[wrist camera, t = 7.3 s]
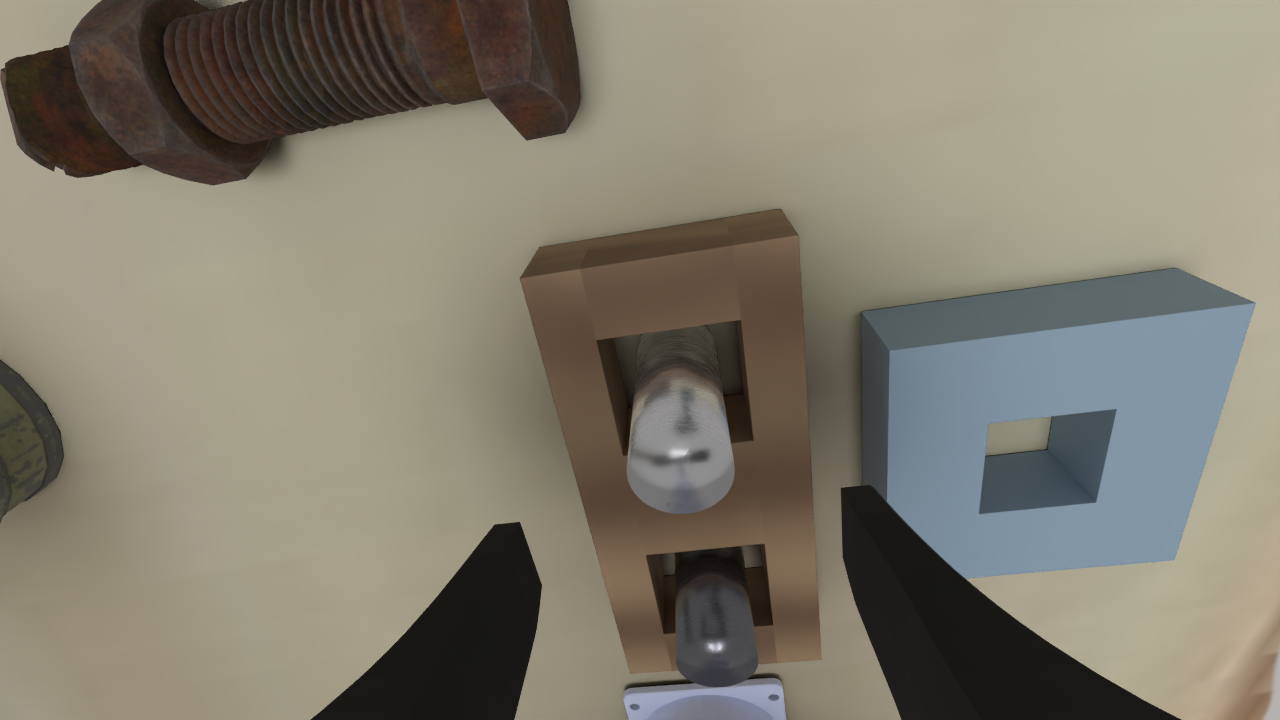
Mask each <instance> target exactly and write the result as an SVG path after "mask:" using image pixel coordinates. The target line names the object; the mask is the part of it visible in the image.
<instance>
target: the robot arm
mask: <svg viewBox="0 0 1280 720" xmlns="http://www.w3.org/2000/svg"><path fill="white" fill-rule="evenodd" d="M841 507H842V544H843V560H844V564H845V567H846V571H847V575H848V578H849V582H850V586H851V589H852V593H853V596H854V600H855V603H856V606H857V608H858V611H859V613H860V616H861V618H862V621H863V623H864V626H865V628H866V631H867V633H868V636H869V639H870V641H871V643H872V646H873V648H874V651H875V653H876V656H877V658H878V661H879V663H880V666H881V668H882V671H883V673H884V676H885V678H886V681H887V683H888V686H889V688H890V691H891V693H892V696H893V698H894V701H895V703H896V706H897V709H898V711H899V714H900V717H901V720H1181V719H1179V718H1177V717H1175V716H1173V715H1171V714H1169V713H1167V712H1165V711H1163V710H1161V709H1159V708H1157V707H1155V706H1153V705H1151V704H1150V703H1148V702H1146V701H1144V700H1142V699H1141V698H1139V697H1137V696H1135V695H1134V694H1132V693H1130V692H1128V691H1127V690H1125V689H1123V688H1121V687H1120V686H1118V685H1116V684H1114V683H1113V682H1111V681H1109V680H1107V679H1106V678H1104V677H1102V676H1101V675H1099V674H1097V673H1096V672H1094V671H1092V670H1091V669H1089V668H1088V667H1086V666H1085V665H1083V664H1081V663H1080V662H1078V661H1077V660H1075V659H1074V658H1072V657H1071V656H1069V655H1067V654H1066V653H1064V652H1063V651H1061V650H1060V649H1058V648H1056V647H1055V646H1053V645H1052V644H1050V643H1049V642H1047V641H1046V640H1044V639H1043V638H1041V637H1040V636H1039V635H1037V634H1036V633H1034V632H1033V631H1032V630H1030V629H1029V628H1027V627H1026V626H1024V625H1023V624H1022V623H1020V622H1019V621H1018V620H1016V619H1015V618H1014V617H1012V616H1011V615H1010V614H1008V613H1007V612H1006V611H1004V610H1003V609H1002V608H1000V607H999V606H998V605H997V604H995V603H994V602H993V601H992V600H990V599H989V598H988V597H987V596H985V595H984V594H983V593H982V592H980V591H979V590H978V589H977V588H976V587H974V586H973V585H972V584H971V583H970V582H969V581H967V580H966V579H965V578H964V577H963V576H962V575H961V574H959V573H958V572H957V571H956V570H955V569H954V568H953V567H951V566H950V565H949V564H948V563H947V562H946V561H945V560H944V559H943V558H942V557H941V556H940V555H939V554H937V553H936V552H935V551H934V550H933V549H932V548H931V547H930V546H929V545H928V544H927V543H926V542H925V541H924V540H923V539H922V538H921V537H920V536H919V535H918V534H917V533H916V532H915V531H914V530H913V529H912V528H911V527H910V526H909V525H908V524H907V523H906V522H905V521H904V520H903V519H902V518H901V517H900V516H899V515H898V513H897V512H896V511H895V510H894V509H893V508H892V507H891V506H890V505H889V504H888V503H887V501H886V500H885V499H884V498H883V497H882V496H881V495H880V494H879V492H878V491H877V490H876V489H875V488H874V487H872V486H871V485H864V486H855V487H845V488H841ZM541 589H542V584H541V582H540V579H539V576H538V573H537V570H536V567H535V564H534V561H533V558H532V556H531V553H530V550H529V547H528V544H527V541H526V538H525V535H524V532H523V530H522V527H521V524H520V522H515V523H506V524H496V525H494V526H493V527H492V529H491V530H490V531H489V532H488V533H487V535H486V536H485V537H484V538H483V540H482V541H481V542H480V544H479V545H478V546H477V547H476V549H475V550H474V551H473V552H472V554H471V555H470V556H469V558H468V559H467V560H466V561H465V563H464V564H463V565H462V566H461V568H460V569H459V570H458V572H457V573H456V574H455V575H454V577H453V578H452V579H451V580H450V581H449V583H448V584H447V585H446V586H445V588H444V589H443V590H442V591H441V592H440V594H439V595H438V596H437V597H436V599H435V600H434V601H433V602H432V603H431V604H430V606H429V607H428V608H427V609H426V610H425V611H424V612H423V613H422V615H421V616H420V617H419V618H418V619H417V620H416V621H415V622H414V624H413V625H412V626H411V627H410V628H409V629H408V630H407V632H406V633H405V634H404V635H403V636H402V637H401V638H400V639H399V640H398V641H397V642H396V643H395V644H394V645H393V646H392V647H391V648H390V649H389V650H388V651H387V652H386V653H385V654H384V655H383V656H382V657H381V658H380V659H379V660H378V661H377V662H376V663H375V664H374V665H373V666H372V667H371V668H370V669H369V670H368V671H367V672H365V673H364V674H363V675H362V676H361V677H360V678H359V679H358V680H357V681H355V682H354V683H353V684H352V685H351V686H350V687H349V688H347V689H346V690H345V691H344V692H343V693H342V694H340V695H339V696H338V697H337V698H336V699H335V700H334V701H332V702H331V703H330V704H329V705H328V706H327V707H325V708H324V709H323V710H322V711H321V712H320V713H318V714H317V715H316V716H315V717H313V718H312V719H311V720H514V718H515V715H516V711H517V707H518V703H519V699H520V695H521V691H522V687H523V683H524V679H525V675H526V671H527V667H528V663H529V659H530V655H531V651H532V646H533V642H534V638H535V634H536V630H537V622H538V615H539V607H540V598H541ZM623 701H624V705H625V708H626V711H627V715H628V718H629V720H786V712H785V703H784V693H783V686H782V682H781V681H780V680H779V679H776V678H762V679H748V680H745V681H743V682H741V683H738V684H736V685H732V686H728V687H707V686H702V685H699V684H696V683H692V684H678V685H664V686H650V687H637V688H629V689H627V690H625V692H624V696H623Z"/></svg>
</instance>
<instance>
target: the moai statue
mask: <svg viewBox="0 0 1280 720" xmlns="http://www.w3.org/2000/svg"><path fill="white" fill-rule="evenodd" d="M62 460H63V451H62V444H61V438H60V432H59V430H58V428H57V426H56V424H55V422H54V420H53V419H52V417H51V415H50V413H49V411H48V409H47V407H46V405H45V404H44V403H43V401H42V400H41V399H40V398H39V397H38V396H37V395H36V394H35V392H34V391H33V390H32V389H31V388H30V387H29V386H28V385H27V383H26V382H25V381H24V380H23V379H22V378H21V377H20V376H19V375H18V374H17V373H15V372H14V371H13V370H12V369H10V368H9V367H8V366H6V365H5V364H4V363H2V362H1V361H0V522H1V520H2V517H3V516H4V515H5V514H6V513H7V512H8V511H10V510H11V509H12V508H14V507H15V506H17V505H18V504H19V503H21V502H23V501H27V500H28V499H30V498H31V497H33V496H34V495H35V494H37V493H38V492H40V491H41V490H42V489H43V488H45V487H46V486H47V485H48V484H49V483H50V482H52V481H53V480H54V479H55V478H56V477H57V475H58V472H59V469H60V466H61V463H62Z"/></svg>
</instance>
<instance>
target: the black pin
mask: <svg viewBox="0 0 1280 720" xmlns="http://www.w3.org/2000/svg"><path fill="white" fill-rule="evenodd" d="M675 619H676V665H677V668H678V670H679V671H680V673H681V674H682V675H683V676H684V677H685V678H687V679H688V680H690V681H692V682H694V683H696V684H699V685H702V686H707V687H728V686H732V685H736V684H738V683H741V682H743V681H745V680H746V679H748V678H749V677H750V676H751V675H752V674H753V673H754V672H755V671H756V669H757V666H758V662H759V660H758V652H757V645H756V638H755V631H754V625H753V618H752V611H751V604H750V598H749V591H748V584H747V577H746V570H745V564H744V557H743V550H742V546H735V547H725V548H714V549H704V550H694V551H683V552H675Z"/></svg>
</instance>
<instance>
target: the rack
mask: <svg viewBox="0 0 1280 720" xmlns="http://www.w3.org/2000/svg"><path fill="white" fill-rule="evenodd" d="M520 281H521V284H522V288H523V291H524V295H525V299H526V302H527V306H528V309H529V313H530V316H531V320H532V324H533V327H534V331H535V334H536V338H537V341H538V345H539V349H540V352H541V356H542V359H543V363H544V367H545V370H546V374H547V377H548V381H549V384H550V388H551V392H552V395H553V399H554V402H555V406H556V409H557V413H558V417H559V420H560V424H561V427H562V431H563V435H564V438H565V442H566V445H567V449H568V452H569V456H570V460H571V463H572V467H573V470H574V474H575V477H576V481H577V485H578V488H579V492H580V495H581V499H582V503H583V506H584V510H585V513H586V517H587V520H588V524H589V528H590V531H591V535H592V538H593V542H594V545H595V549H596V553H597V556H598V560H599V563H600V567H601V571H602V574H603V578H604V581H605V585H606V588H607V592H608V596H609V599H610V603H611V606H612V610H613V613H614V617H615V621H616V624H617V628H618V631H619V635H620V639H621V642H622V646H623V649H624V653H625V656H626V660H627V664H628V667H629V671H630V674H634V673H647V672H661V671H674V670H678V668H677V665H676V619H675V575H674V576H664V573H663V568H662V564H661V559H660V555H659V554H663V553H673V552H683V551H694V550H704V549H714V548H725V547H735V546H745V545H755V544H760V546H761V555H762V564H763V567H760V568H749V569H745V570H746V577H747V584H748V591H749V598H750V604H751V611H752V618H753V625H754V631H755V638H756V645H757V652H758V660H759V662H758V664H768V663H782V662H795V661H809V660H822V658H821V640H820V621H819V603H818V585H817V566H816V548H815V529H814V511H813V493H812V474H811V456H810V437H809V419H808V401H807V382H806V364H805V345H804V327H803V309H802V290H801V272H800V253H799V235H798V234H797V232H796V231H795V229H794V228H793V226H792V225H791V223H790V222H789V221H788V219H787V218H786V216H785V215H784V213H783V212H782V210H781V209H776V210H770V211H764V212H758V213H751V214H745V215H739V216H733V217H726V218H720V219H714V220H708V221H701V222H695V223H689V224H683V225H676V226H670V227H664V228H658V229H651V230H645V231H639V232H633V233H627V234H620V235H614V236H608V237H602V238H595V239H589V240H583V241H577V242H570V243H564V244H558V245H552V246H545V247H539V249H538V250H537V252H536V254H535V255H534V257H533V258H532V260H531V261H530V263H529V265H528V266H527V268H526V269H525V271H524V273H523V274H522V276H521V277H520ZM730 321H736V329H737V338H738V347H739V356H740V365H741V374H742V383H743V392H744V394H739V395H731V396H724V403H725V409H726V416H727V422H728V428H729V435H730V441H731V447H732V454H733V460H734V467H735V475H734V480H733V483H732V486H731V488H730V489H729V491H728V492H727V494H726V495H725V496H724V497H723V498H722V499H721V500H720V501H719V502H717V503H716V504H714V505H713V506H711V507H709V508H707V509H705V510H702V511H699V512H694V513H688V514H674V513H667V512H663V511H660V510H657V509H655V508H652V507H651V506H649V505H647V504H646V503H644V502H643V501H642V500H641V499H639V498H638V497H637V495H636V494H635V493H634V492H633V490H632V488H631V487H630V484H629V482H628V478H627V461H628V450H629V440H630V430H631V419H632V409H633V408H628V406H627V401H626V396H625V392H624V387H623V383H622V378H621V373H620V369H619V364H618V359H617V355H616V350H615V345H614V341H613V338H616V337H623V336H630V335H637V334H644V333H651V332H658V331H665V330H673V329H680V328H687V327H694V326H701V325H708V324H715V323H722V322H730Z"/></svg>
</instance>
